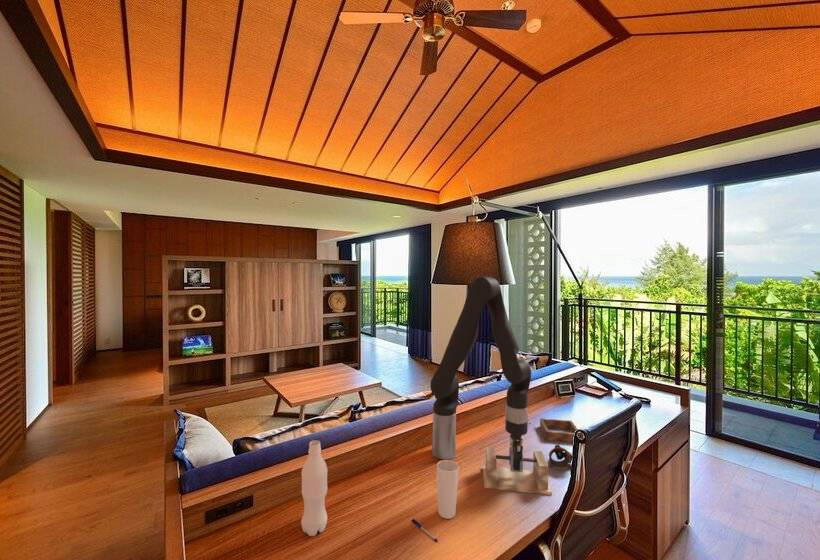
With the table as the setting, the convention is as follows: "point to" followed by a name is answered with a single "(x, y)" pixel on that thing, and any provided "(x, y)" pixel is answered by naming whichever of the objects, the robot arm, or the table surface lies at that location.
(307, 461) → the water bottle
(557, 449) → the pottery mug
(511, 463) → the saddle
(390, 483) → the table surface
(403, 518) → the table surface
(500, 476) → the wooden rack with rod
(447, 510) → the drinking glass
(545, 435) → the open wooden frame
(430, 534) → the ballpoint pen
